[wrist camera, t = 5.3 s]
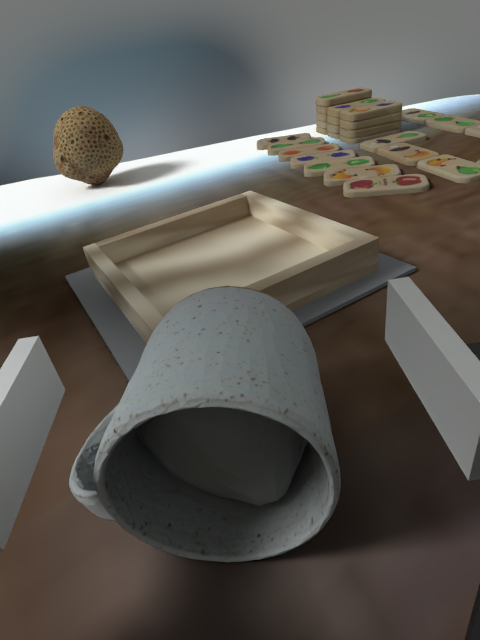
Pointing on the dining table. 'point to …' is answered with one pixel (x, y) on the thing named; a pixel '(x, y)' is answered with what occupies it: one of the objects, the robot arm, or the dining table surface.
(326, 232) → the tray
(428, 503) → the dining table surface
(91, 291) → the mat
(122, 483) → the ceramic mug
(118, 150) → the natural sponge
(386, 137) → the pile of dominoes
